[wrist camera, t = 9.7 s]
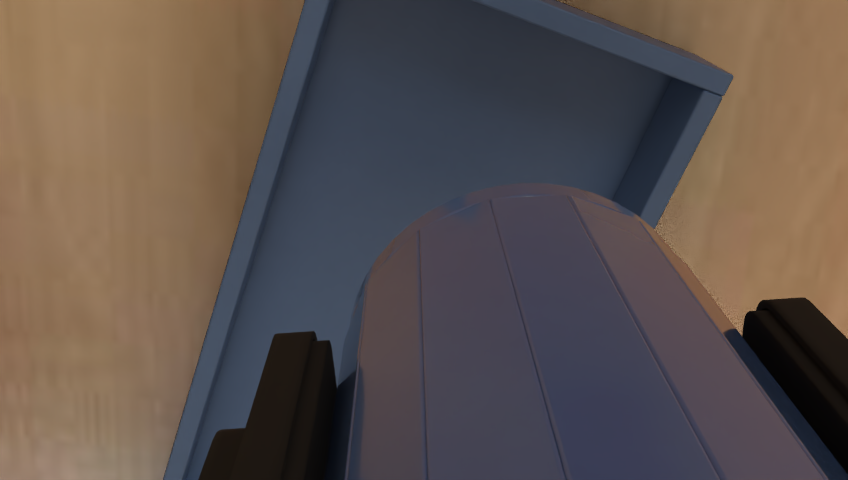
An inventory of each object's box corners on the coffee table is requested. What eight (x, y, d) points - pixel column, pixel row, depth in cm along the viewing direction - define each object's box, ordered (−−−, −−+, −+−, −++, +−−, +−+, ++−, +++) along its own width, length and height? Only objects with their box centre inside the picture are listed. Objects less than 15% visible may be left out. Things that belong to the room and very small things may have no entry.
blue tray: (339, -85, 22) (329, -82, 19) (697, 55, 24) (735, 76, 21) (161, 507, 30) (136, 569, 27) (436, 579, 32) (439, 643, 29)
